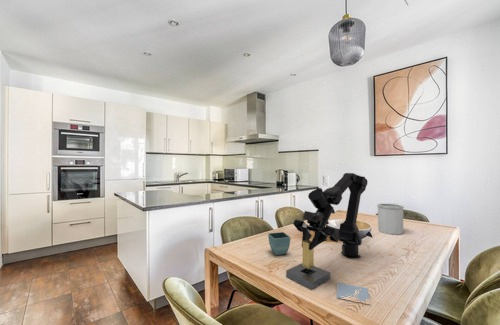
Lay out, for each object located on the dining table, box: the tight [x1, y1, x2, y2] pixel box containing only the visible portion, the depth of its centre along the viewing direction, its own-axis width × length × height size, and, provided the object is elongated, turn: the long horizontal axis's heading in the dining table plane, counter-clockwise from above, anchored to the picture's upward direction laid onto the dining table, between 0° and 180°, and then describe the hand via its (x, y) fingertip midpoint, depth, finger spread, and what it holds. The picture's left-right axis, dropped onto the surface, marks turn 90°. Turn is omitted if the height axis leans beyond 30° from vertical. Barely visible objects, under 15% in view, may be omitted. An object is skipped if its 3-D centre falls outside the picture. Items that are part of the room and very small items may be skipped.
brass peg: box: [302, 239, 315, 269], centre depth 89 cm, size 3×3×10 cm
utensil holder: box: [376, 202, 405, 235], centre depth 149 cm, size 15×15×18 cm
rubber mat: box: [336, 282, 371, 302], centre depth 79 cm, size 10×10×1 cm
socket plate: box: [285, 262, 331, 291], centre depth 89 cm, size 12×12×2 cm
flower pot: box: [267, 231, 292, 256], centre depth 114 cm, size 9×9×9 cm
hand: (305, 248), depth 88 cm, fingers closed on brass peg, 3 cm apart
